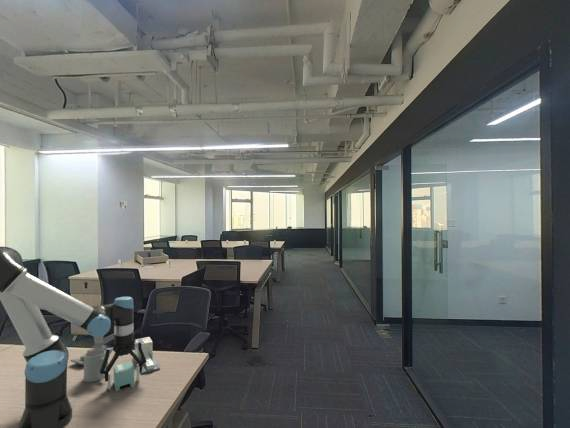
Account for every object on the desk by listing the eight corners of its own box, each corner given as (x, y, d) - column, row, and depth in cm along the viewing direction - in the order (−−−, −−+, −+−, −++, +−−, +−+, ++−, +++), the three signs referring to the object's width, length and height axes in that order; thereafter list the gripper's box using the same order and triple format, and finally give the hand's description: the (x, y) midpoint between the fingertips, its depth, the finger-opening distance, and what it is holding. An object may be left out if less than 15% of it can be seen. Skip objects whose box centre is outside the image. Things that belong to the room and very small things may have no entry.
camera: (110, 333, 162) (81, 344, 149) (110, 356, 162) (81, 369, 149) (99, 331, 166) (69, 341, 152) (99, 353, 166) (70, 365, 152)
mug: (79, 380, 138) (79, 355, 138) (96, 371, 146) (96, 348, 146) (98, 385, 134) (99, 359, 134) (115, 375, 142) (115, 351, 142)
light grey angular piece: (159, 369, 148) (159, 350, 148) (141, 374, 143) (141, 354, 143) (150, 352, 166) (150, 336, 166) (133, 356, 161) (133, 339, 162)
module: (134, 386, 133) (134, 367, 133) (115, 391, 129) (115, 372, 130) (131, 378, 140) (131, 360, 140) (113, 383, 136) (113, 365, 136)
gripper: (150, 325, 145) (150, 372, 144) (92, 336, 131) (92, 388, 131) (153, 330, 138) (153, 379, 138) (93, 342, 125) (93, 396, 125)
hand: (123, 383), depth 135 cm, fingers open, 11 cm apart
